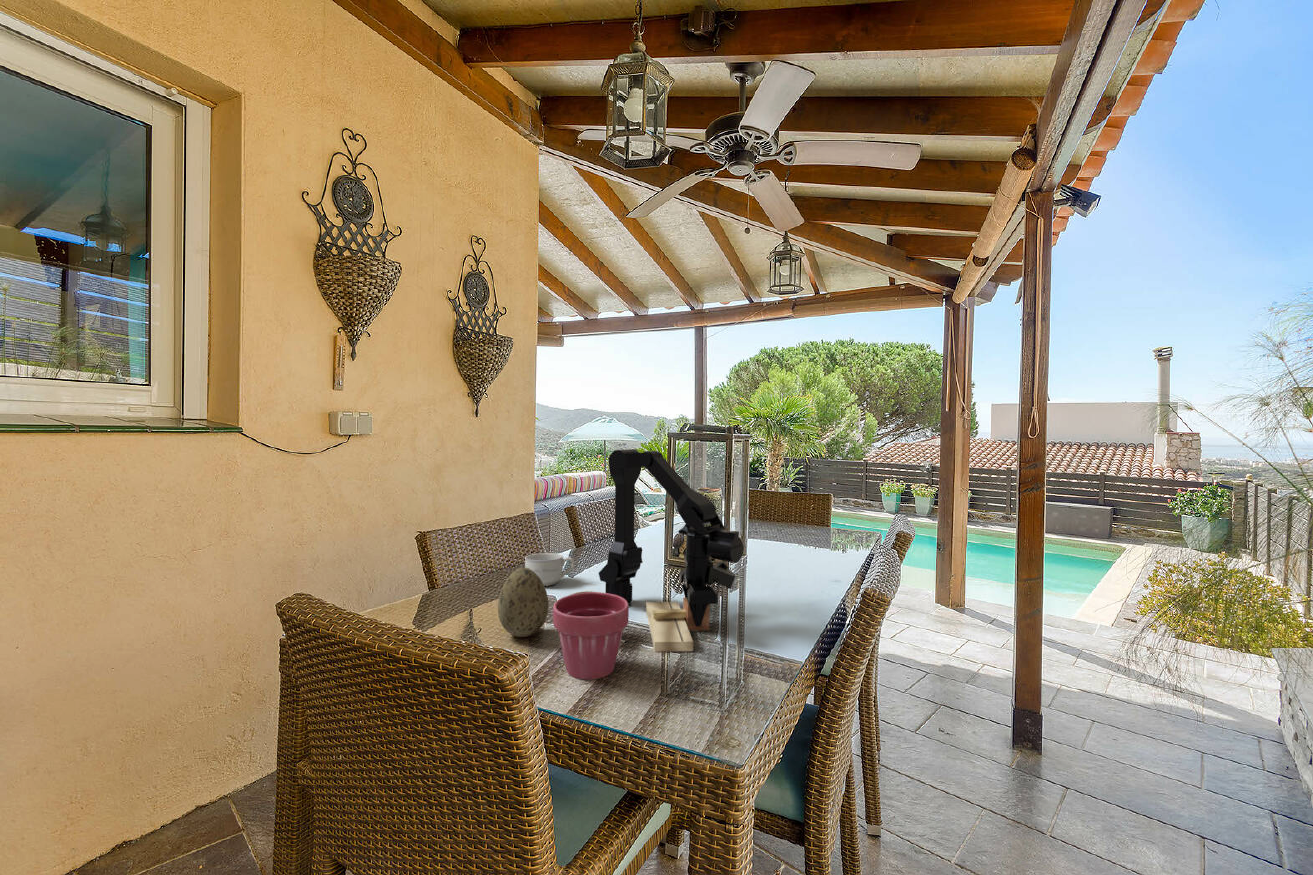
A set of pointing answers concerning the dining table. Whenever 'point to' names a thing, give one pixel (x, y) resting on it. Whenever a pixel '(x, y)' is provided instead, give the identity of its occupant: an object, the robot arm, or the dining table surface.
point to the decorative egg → (523, 603)
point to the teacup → (548, 566)
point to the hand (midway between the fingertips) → (696, 621)
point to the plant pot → (590, 632)
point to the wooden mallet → (683, 616)
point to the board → (668, 629)
